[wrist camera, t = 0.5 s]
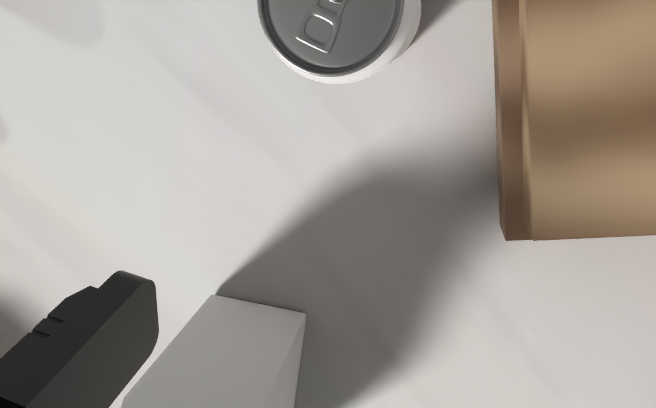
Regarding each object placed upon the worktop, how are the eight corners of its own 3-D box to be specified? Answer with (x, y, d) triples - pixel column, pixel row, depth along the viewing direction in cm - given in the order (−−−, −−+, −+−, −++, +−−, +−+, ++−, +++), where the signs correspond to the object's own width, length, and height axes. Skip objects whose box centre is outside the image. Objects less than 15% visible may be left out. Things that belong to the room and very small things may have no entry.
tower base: (491, -24, 32) (503, -36, 27) (783, -61, 30) (866, -83, 24) (500, 224, 36) (512, 260, 30) (761, 210, 33) (829, 247, 28)
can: (442, -20, 33) (448, -47, 21) (389, 89, 35) (368, 116, 23) (336, -71, 33) (285, -125, 22) (290, 40, 35) (221, 44, 24)
